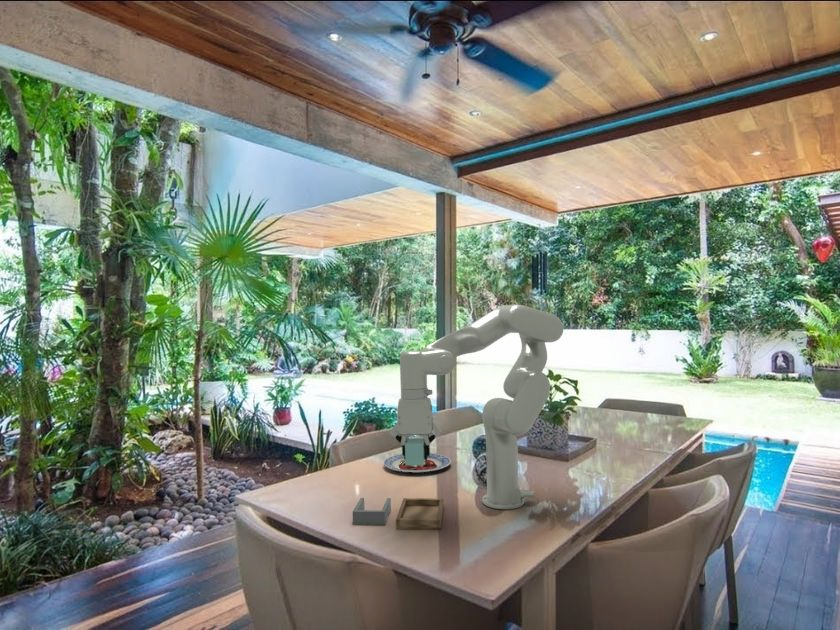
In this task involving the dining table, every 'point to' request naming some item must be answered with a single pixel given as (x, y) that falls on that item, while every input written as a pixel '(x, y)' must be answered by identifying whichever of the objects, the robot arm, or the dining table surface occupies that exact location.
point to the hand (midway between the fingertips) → (416, 457)
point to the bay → (371, 514)
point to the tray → (420, 514)
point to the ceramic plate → (430, 465)
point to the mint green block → (414, 450)
